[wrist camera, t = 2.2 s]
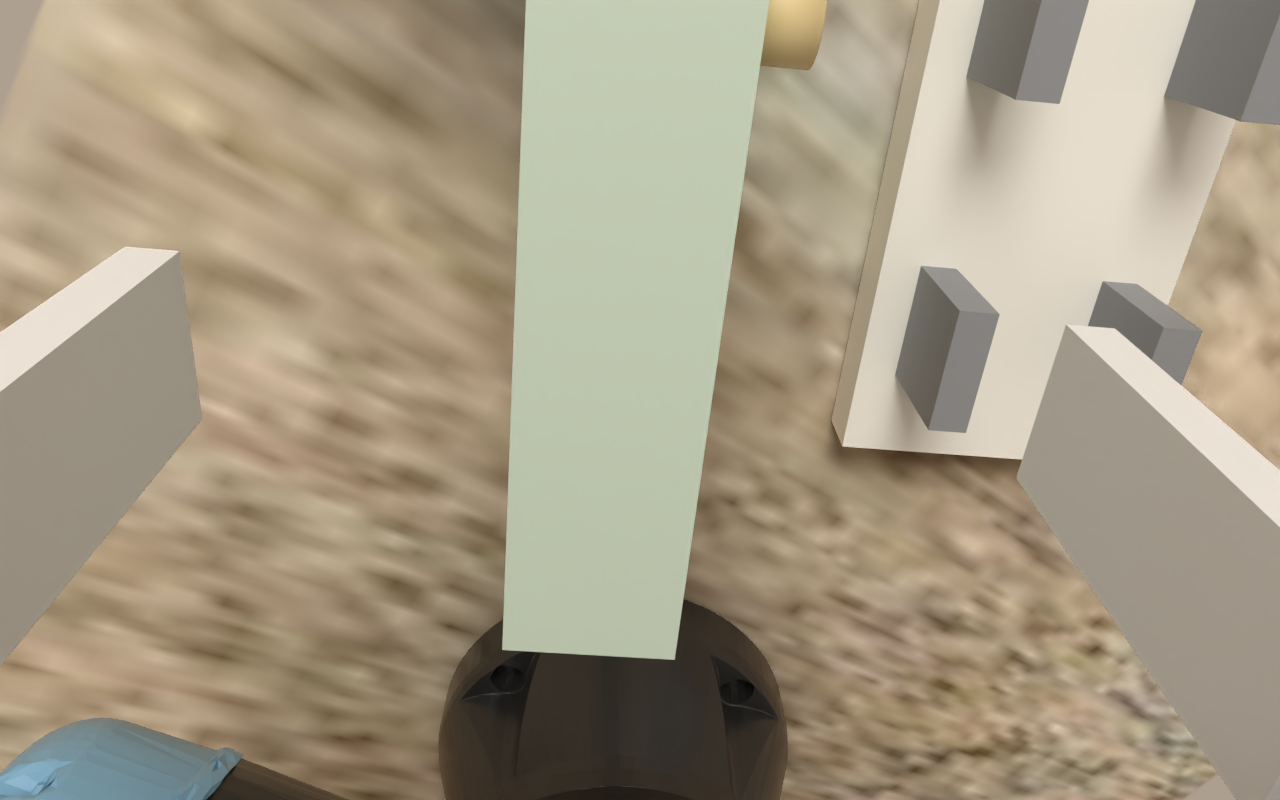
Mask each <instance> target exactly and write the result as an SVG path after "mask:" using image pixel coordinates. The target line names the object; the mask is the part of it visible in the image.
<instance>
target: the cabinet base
mask: <svg viewBox="0 0 1280 800" xmlns="http://www.w3.org/2000/svg"><path fill="white" fill-rule="evenodd" d="M1236 120H1238V121H1242V122H1253V123H1263V124H1274V125H1280V0H919V5H918V9H917V14H916V19H915V24H914V28H913V33H912V38H911V43H910V48H909V52H908V57H907V62H906V67H905V71H904V76H903V81H902V86H901V90H900V95H899V100H898V105H897V109H896V114H895V119H894V124H893V129H892V133H891V138H890V143H889V148H888V152H887V157H886V162H885V167H884V171H883V176H882V181H881V186H880V190H879V195H878V200H877V205H876V210H875V214H874V219H873V224H872V229H871V233H870V238H869V243H868V248H867V252H866V257H865V262H864V267H863V271H862V276H861V281H860V286H859V291H858V295H857V300H856V305H855V310H854V314H853V319H852V324H851V329H850V333H849V338H848V343H847V348H846V352H845V357H844V362H843V367H842V372H841V376H840V381H839V386H838V391H837V395H836V400H835V405H834V410H833V414H832V419H831V421H832V423H833V426H834V428H835V430H836V433H837V435H838V438H839V440H840V442H841V445H842V447H856V448H870V449H884V450H897V451H911V452H925V453H939V454H953V455H967V456H980V457H994V458H1008V459H1023V456H1024V452H1025V449H1026V446H1027V443H1028V440H1029V437H1030V434H1031V431H1032V428H1033V425H1034V422H1035V419H1036V416H1037V412H1038V409H1039V406H1040V403H1041V400H1042V397H1043V394H1044V391H1045V388H1046V385H1047V382H1048V379H1049V375H1050V372H1051V369H1052V366H1053V363H1054V360H1055V357H1056V354H1057V351H1058V348H1059V345H1060V342H1061V339H1062V335H1063V332H1064V329H1065V326H1066V324H1067V325H1079V326H1092V327H1104V328H1115V329H1116V330H1117V331H1119V332H1120V333H1121V334H1122V335H1123V336H1124V337H1125V338H1127V339H1128V340H1129V341H1130V342H1131V343H1132V344H1134V345H1135V346H1136V347H1137V348H1138V349H1139V350H1141V351H1142V352H1143V353H1144V354H1145V355H1146V356H1147V357H1149V358H1150V359H1151V360H1152V361H1153V362H1154V363H1156V364H1157V365H1158V366H1159V367H1160V368H1161V369H1163V370H1164V371H1165V372H1166V373H1167V374H1168V375H1169V376H1171V377H1172V378H1173V379H1174V380H1175V381H1176V382H1178V383H1179V384H1180V385H1182V382H1183V379H1184V377H1185V374H1186V372H1187V369H1188V367H1189V364H1190V362H1191V359H1192V356H1193V354H1194V351H1195V349H1196V346H1197V344H1198V341H1199V339H1200V336H1201V333H1202V330H1201V329H1199V328H1198V327H1197V326H1195V325H1194V324H1192V323H1191V322H1190V321H1188V320H1187V319H1185V318H1184V317H1183V316H1181V315H1180V314H1178V313H1177V312H1176V311H1174V310H1173V309H1171V308H1170V307H1169V306H1168V304H1169V301H1170V298H1171V296H1172V293H1173V290H1174V288H1175V285H1176V282H1177V279H1178V277H1179V274H1180V271H1181V269H1182V266H1183V263H1184V260H1185V258H1186V255H1187V252H1188V250H1189V247H1190V244H1191V242H1192V239H1193V236H1194V233H1195V231H1196V228H1197V225H1198V223H1199V220H1200V217H1201V214H1202V212H1203V209H1204V206H1205V204H1206V201H1207V198H1208V195H1209V193H1210V190H1211V187H1212V185H1213V182H1214V179H1215V176H1216V174H1217V171H1218V168H1219V166H1220V163H1221V160H1222V158H1223V155H1224V152H1225V149H1226V147H1227V144H1228V141H1229V139H1230V136H1231V133H1232V130H1233V128H1234V125H1235V122H1236Z"/></svg>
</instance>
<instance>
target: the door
mask: <svg viewBox="0 0 1280 800" xmlns="http://www.w3.org/2000/svg"><path fill="white" fill-rule="evenodd" d="M826 6H827V0H526V10H525V38H524V65H523V93H522V120H521V148H520V175H519V203H518V230H517V257H516V285H515V312H514V340H513V367H512V395H511V422H510V450H509V477H508V505H507V532H506V560H505V587H504V615H503V642H502V650H511V651H529V652H546V653H564V654H581V655H598V656H616V657H633V658H651V659H668V660H675V654H676V647H677V640H678V633H679V626H680V619H681V612H682V605H683V598H684V591H685V584H686V577H687V570H688V564H689V557H690V550H691V543H692V536H693V529H694V522H695V515H696V508H697V501H698V494H699V487H700V480H701V473H702V466H703V459H704V452H705V445H706V438H707V431H708V424H709V417H710V410H711V404H712V397H713V390H714V383H715V376H716V369H717V362H718V355H719V348H720V341H721V334H722V327H723V320H724V313H725V306H726V299H727V292H728V285H729V278H730V271H731V264H732V257H733V250H734V244H735V237H736V230H737V223H738V216H739V209H740V202H741V195H742V188H743V181H744V174H745V167H746V160H747V153H748V146H749V139H750V132H751V125H752V118H753V111H754V104H755V97H756V90H757V84H758V77H759V70H760V66H771V67H781V68H792V69H802V70H809V69H810V68H811V67H812V65H813V63H814V61H815V58H816V55H817V52H818V49H819V45H820V41H821V37H822V32H823V27H824V21H825V14H826Z"/></svg>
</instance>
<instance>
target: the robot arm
mask: <svg viewBox="0 0 1280 800" xmlns="http://www.w3.org/2000/svg"><path fill="white" fill-rule="evenodd" d="M201 420H202V414H201V407H200V399H199V392H198V384H197V377H196V370H195V362H194V355H193V347H192V340H191V332H190V325H189V317H188V310H187V303H186V295H185V288H184V280H183V273H182V265H181V258H180V251H172V250H160V249H148V248H136V247H124V248H122V249H121V250H119V251H118V252H116V253H115V254H113V255H112V256H110V257H109V258H108V259H106V260H105V261H103V262H102V263H100V264H99V265H97V266H96V267H95V268H93V269H92V270H90V271H89V272H87V273H86V274H84V275H83V276H81V277H80V278H79V279H77V280H76V281H74V282H73V283H71V284H70V285H68V286H67V287H65V288H64V289H63V290H61V291H60V292H58V293H57V294H55V295H54V296H52V297H51V298H49V299H48V300H47V301H45V302H44V303H42V304H41V305H39V306H38V307H36V308H35V309H33V310H32V311H31V312H29V313H28V314H26V315H25V316H23V317H22V318H20V319H19V320H18V321H16V322H15V323H13V324H12V325H10V326H9V327H7V328H6V329H4V330H3V331H2V332H0V666H1V665H2V664H3V662H4V661H5V660H6V659H7V657H8V656H9V655H10V654H11V652H12V651H13V650H14V649H15V648H16V646H17V645H18V644H19V643H20V641H21V640H22V639H23V638H24V637H25V635H26V634H27V633H28V632H29V630H30V629H31V628H32V627H33V626H34V624H35V623H36V622H37V621H38V619H39V618H40V617H41V616H42V615H43V613H44V612H45V611H46V610H47V608H48V607H49V606H50V605H51V604H52V602H53V601H54V600H55V599H56V597H57V596H58V595H59V594H60V592H61V591H62V590H63V589H64V588H65V586H66V585H67V584H68V583H69V581H70V580H71V579H72V578H73V577H74V575H75V574H76V573H77V572H78V570H79V569H80V568H81V567H82V566H83V564H84V563H85V562H86V561H87V559H88V558H89V557H90V556H91V555H92V553H93V552H94V551H95V550H96V548H97V547H98V546H99V545H100V544H101V542H102V541H103V540H104V539H105V537H106V536H107V535H108V534H109V532H110V531H111V530H112V529H113V528H114V526H115V525H116V524H117V523H118V521H119V520H120V519H121V518H122V517H123V515H124V514H125V513H126V512H127V510H128V509H129V508H130V507H131V506H132V504H133V503H134V502H135V501H136V499H137V498H138V497H139V496H140V495H141V493H142V492H143V491H144V490H145V488H146V487H147V486H148V485H149V483H150V482H151V481H152V480H153V479H154V477H155V476H156V475H157V474H158V472H159V471H160V470H161V469H162V468H163V466H164V465H165V464H166V463H167V461H168V460H169V459H170V458H171V457H172V455H173V454H174V453H175V452H176V450H177V449H178V448H179V447H180V446H181V444H182V443H183V442H184V441H185V439H186V438H187V437H188V436H189V435H190V433H191V432H192V431H193V430H194V428H195V427H196V426H197V425H198V423H199V422H200V421H201ZM1016 479H1017V480H1018V482H1019V483H1020V485H1021V486H1022V488H1023V489H1024V491H1025V492H1026V494H1027V495H1028V496H1029V498H1030V499H1031V501H1032V502H1033V504H1034V505H1035V507H1036V508H1037V510H1038V511H1039V513H1040V514H1041V515H1042V517H1043V518H1044V520H1045V521H1046V523H1047V524H1048V526H1049V527H1050V529H1051V530H1052V532H1053V533H1054V534H1055V536H1056V537H1057V539H1058V540H1059V542H1060V543H1061V545H1062V546H1063V548H1064V549H1065V551H1066V552H1067V553H1068V555H1069V556H1070V558H1071V559H1072V561H1073V562H1074V564H1075V565H1076V567H1077V568H1078V570H1079V571H1080V572H1081V574H1082V575H1083V577H1084V578H1085V580H1086V581H1087V583H1088V584H1089V586H1090V587H1091V589H1092V590H1093V591H1094V593H1095V594H1096V596H1097V597H1098V599H1099V600H1100V602H1101V603H1102V605H1103V606H1104V608H1105V609H1106V610H1107V612H1108V613H1109V615H1110V616H1111V618H1112V619H1113V621H1114V622H1115V624H1116V625H1117V627H1118V628H1119V629H1120V631H1121V632H1122V634H1123V635H1124V637H1125V638H1126V640H1127V641H1128V643H1129V644H1130V646H1131V647H1132V648H1133V650H1134V651H1135V653H1136V654H1137V656H1138V657H1139V659H1140V660H1141V662H1142V663H1143V665H1144V666H1145V667H1146V669H1147V670H1148V672H1149V673H1150V675H1151V676H1152V678H1153V679H1154V681H1155V682H1156V684H1157V685H1158V686H1159V688H1160V689H1161V691H1162V692H1163V694H1164V695H1165V697H1166V698H1167V700H1168V701H1169V703H1170V704H1171V705H1172V707H1173V708H1174V710H1175V711H1176V713H1177V714H1178V716H1179V717H1180V719H1181V720H1182V722H1183V723H1184V724H1185V726H1186V727H1187V729H1188V730H1189V732H1190V733H1191V735H1192V736H1193V738H1194V739H1195V741H1196V742H1197V743H1198V745H1199V746H1200V748H1201V749H1202V751H1203V752H1204V754H1205V755H1206V757H1207V758H1208V760H1209V761H1210V762H1211V764H1212V765H1213V767H1214V768H1215V770H1216V771H1217V773H1218V774H1219V776H1220V777H1221V779H1222V780H1223V781H1224V783H1225V784H1226V786H1227V787H1228V789H1229V790H1230V792H1231V793H1232V795H1233V796H1234V798H1235V799H1236V800H1280V470H1278V469H1277V468H1276V467H1275V466H1274V465H1273V464H1271V463H1270V462H1269V461H1268V460H1267V459H1266V458H1264V457H1263V456H1262V455H1261V454H1260V453H1259V452H1258V451H1256V450H1255V449H1254V448H1253V447H1252V446H1251V445H1249V444H1248V443H1247V442H1246V441H1245V440H1244V439H1242V438H1241V437H1240V436H1239V435H1238V434H1237V433H1236V432H1234V431H1233V430H1232V429H1231V428H1230V427H1229V426H1227V425H1226V424H1225V423H1224V422H1223V421H1222V420H1220V419H1219V418H1218V417H1217V416H1216V415H1215V414H1214V413H1212V412H1211V411H1210V410H1209V409H1208V408H1207V407H1205V406H1204V405H1203V404H1202V403H1201V402H1200V401H1198V400H1197V399H1196V398H1195V397H1194V396H1193V395H1192V394H1190V393H1189V392H1188V391H1187V390H1186V389H1185V388H1183V387H1182V386H1181V385H1180V384H1179V383H1178V382H1176V381H1175V380H1174V379H1173V378H1172V377H1171V376H1169V375H1168V374H1167V373H1166V372H1165V371H1164V370H1163V369H1161V368H1160V367H1159V366H1158V365H1157V364H1156V363H1154V362H1153V361H1152V360H1151V359H1150V358H1149V357H1147V356H1146V355H1145V354H1144V353H1143V352H1142V351H1141V350H1139V349H1138V348H1137V347H1136V346H1135V345H1134V344H1132V343H1131V342H1130V341H1129V340H1128V339H1127V338H1125V337H1124V336H1123V335H1122V334H1121V333H1120V332H1119V331H1117V330H1116V329H1115V328H1104V327H1092V326H1079V325H1067V324H1066V326H1065V329H1064V332H1063V335H1062V339H1061V342H1060V345H1059V348H1058V351H1057V354H1056V357H1055V360H1054V363H1053V366H1052V369H1051V372H1050V375H1049V379H1048V382H1047V385H1046V388H1045V391H1044V394H1043V397H1042V400H1041V403H1040V406H1039V409H1038V412H1037V416H1036V419H1035V422H1034V425H1033V428H1032V431H1031V434H1030V437H1029V440H1028V443H1027V446H1026V449H1025V452H1024V456H1023V459H1022V462H1021V465H1020V468H1019V471H1018V474H1017V477H1016ZM502 642H503V620H502V621H501V622H499V623H498V624H496V625H495V626H493V627H492V628H491V629H490V630H489V631H487V632H486V633H485V634H484V635H483V636H482V637H481V638H480V639H479V640H478V641H476V643H475V644H474V645H473V646H472V647H471V648H470V649H469V651H468V652H467V653H466V655H465V656H464V657H463V659H462V661H461V662H460V664H459V665H458V667H457V669H456V671H455V673H454V675H453V678H452V680H451V683H450V686H449V690H448V694H447V698H446V703H445V707H444V712H443V717H442V721H441V726H440V732H439V749H438V753H439V765H440V771H441V777H442V782H443V787H444V793H445V798H446V800H780V795H781V790H782V785H783V780H784V775H785V770H786V764H787V754H788V740H787V728H786V722H785V717H784V712H783V708H782V703H781V698H780V693H779V689H778V685H777V682H776V679H775V676H774V674H773V672H772V670H771V668H770V666H769V664H768V663H767V661H766V659H765V658H764V656H763V655H762V653H761V652H760V651H759V649H758V648H757V647H756V646H755V645H754V643H753V642H752V641H751V640H750V639H749V638H748V637H747V636H746V635H745V634H744V633H742V632H741V631H740V630H739V629H738V628H736V627H735V626H734V625H732V624H731V623H730V622H728V621H727V620H725V619H724V618H722V617H720V616H719V615H717V614H715V613H713V612H711V611H709V610H708V609H706V608H703V607H701V606H699V605H696V604H694V603H692V602H689V601H686V600H683V605H682V612H681V619H680V626H679V633H678V640H677V647H676V654H675V660H668V659H651V658H633V657H616V656H598V655H581V654H564V653H546V652H529V651H511V650H502ZM241 758H242V754H241V753H239V752H237V751H235V750H233V749H231V748H222V749H219V750H213V749H210V748H207V747H204V746H201V745H198V744H195V743H192V742H189V741H186V740H183V739H180V738H176V737H173V736H170V735H167V734H164V733H161V732H158V731H155V730H152V729H149V728H146V727H143V726H140V725H136V724H133V723H130V722H127V721H123V720H118V719H113V718H93V719H87V720H81V721H78V722H74V723H71V724H68V725H65V726H63V727H61V728H59V729H57V730H55V731H52V732H50V733H48V734H47V735H45V736H44V737H42V738H41V739H39V740H38V741H36V742H35V743H34V744H32V745H31V746H30V747H29V748H27V749H26V750H25V751H24V752H22V753H21V754H20V755H19V756H18V757H17V758H15V759H14V760H13V761H12V762H11V763H10V764H9V765H8V766H7V767H6V768H5V769H4V770H3V771H2V772H1V773H0V800H348V799H346V798H343V797H340V796H338V795H335V794H333V793H330V792H327V791H325V790H322V789H320V788H317V787H314V786H312V785H309V784H306V783H304V782H301V781H299V780H296V779H293V778H291V777H288V776H286V775H283V774H280V773H278V772H275V771H273V770H270V769H267V768H265V767H262V766H260V765H257V764H254V763H252V762H249V761H247V760H244V759H241Z"/></svg>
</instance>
